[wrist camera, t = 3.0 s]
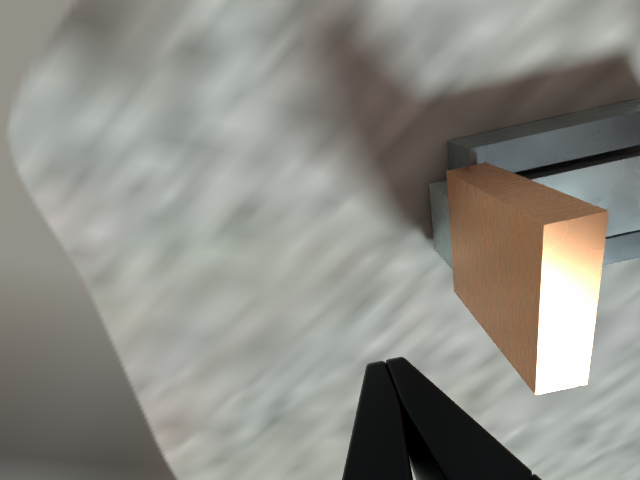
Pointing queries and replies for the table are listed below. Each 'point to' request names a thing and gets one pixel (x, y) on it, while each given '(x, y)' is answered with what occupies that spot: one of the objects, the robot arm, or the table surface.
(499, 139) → the ram guide
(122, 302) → the table surface
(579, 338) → the brown boxy piece
